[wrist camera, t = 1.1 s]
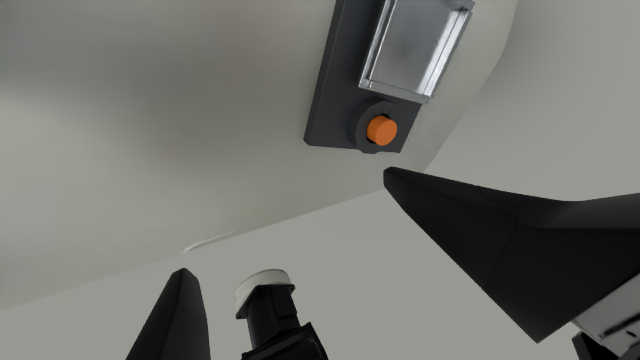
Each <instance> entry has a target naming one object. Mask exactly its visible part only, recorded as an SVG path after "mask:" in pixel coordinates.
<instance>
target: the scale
mask: <svg viewBox="0 0 640 360" xmlns="http://www.w3.org/2000/svg"><path fill="white" fill-rule="evenodd" d="M382 3H383V0H337V1H336V5H335V10H334V14H333V18H332V22H331V26H330V30H329V35H328V39H327V43H326V47H325V51H324V56H323V60H322V64H321V68H320V72H319V77H318V81H317V85H316V89H315V93H314V98H313V102H312V106H311V110H310V114H309V119H308V123H307V127H306V131H305V135H304V139H303V140H304V141H305V142H306V143H307V144H308V145H310V146H323V147H335V148H347V149H359V150H360V151H361V152H363V153H368V154H375V153H377V152H379V151H384V152H397V153H400V151H401V149H402V147H403V144H404V142H405V140H406V138H407V136H408V134H409V131H410V129H411V127H412V125H413V123H414V120H415V118H416V116H417V114H418V112H419V110H420V107H421V105H422V104H421V103H417V102H413V101H409V100H406V99H402V98H398V97H394V96H390V95H386V94H382V93H379V92H375V91H371V90H367V89H363V88H359V87H357V86H356V85H357V82H358V79H359V76H360V73H361V70H362V66H363V63H364V60H365V57H366V54H367V51H368V47H369V44H370V41H371V38H372V35H373V32H374V28H375V25H376V22H377V19H378V16H379V13H380V9H381V6H382ZM377 116H384V117H386V118H388V119H390V120H393V121H394V122H395V123H396V125H397V132H396V135H395V137H394V138H393V140H392V141H391V142H390V143H388V144H386V145H383V146H381V145H378V144H377V143H375V142H373V141H372V140H370V139H369V138H368V136H367V132H366V131H367V127H368V124H369V123H370V121H371V120H372V119H373V118H375V117H377Z"/></svg>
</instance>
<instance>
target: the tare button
mask: <svg viewBox="0 0 640 360" xmlns="http://www.w3.org/2000/svg"><path fill="white" fill-rule="evenodd" d="M366 132H367V136H368V138H369V139H370V140H372V141H373V142H375V143H377V144H378V145H381V146H383V145H386V144H388V143H390V142H391V141H392V140H393V138H394V137H395V135H396V132H397V125H396V123H395V122H394V121H393V120H390V119H388V118H386V117H384V116H377V117H375V118H373V119H372V120H371V121H370V123H369V124H368V127H367V131H366Z"/></svg>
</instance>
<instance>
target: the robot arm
mask: <svg viewBox="0 0 640 360" xmlns="http://www.w3.org/2000/svg"><path fill="white" fill-rule="evenodd" d="M383 177H384V186H385V188H386V189H387V190H388V192H389V193H390V194H391V195H392V197H393V198H394V199H395V200H396V201H397V203H398V204H399V205H400V207H401V208H402V209H403V210H404V211H405V212H406V213H407V214H408V215H409V216H410V217H411V218H412V219H413V220H414V221H415V222H416V223H417V224H418V225H419V226H420V227H421V228H422V229H423V230H424V231H425V232H426V233H427V234H428V235H429V236H430V237H431V238H432V239H433V240H434V241H435V242H436V243H437V244H438V245H439V246H440V247H441V248H442V249H443V250H444V251H445V252H446V253H447V254H448V255H449V256H450V257H451V258H452V259H453V260H454V261H455V262H456V263H457V264H458V265H459V266H460V267H461V268H462V269H463V270H464V271H465V272H466V273H467V274H468V275H469V276H470V277H471V278H472V279H473V280H474V281H475V282H476V283H477V284H478V285H479V286H480V287H481V288H482V290H483V291H484V292H485V293H486V294H487V295H488V296H489V297H490V298H491V299H492V300H493V301H494V302H495V303H496V304H497V305H498V306H499V307H500V308H502V310H503V311H504V312H505V313H506V314H507V315H508V316H509V317H510V318H511V319H513V321H514V322H515V323H517V325H518V326H519V327H520V328H521V329H522V330H523V331H524V332H525V333H526V334H527V335H528V336H529V337H531V338H532V340H534V341H535V342H536V343H539V342H541V341H542V340H544V339H545V338H547V337H548V336H549V335H551V334H552V333H554V332H555V331H557V330H558V329H560V328H561V327H562V326H564V325H565V324H567V323H568V322H572V323H573V324H574V325H576V326H577V327H578V328H579V329H581V331H579V332H578V333H577V334H576V335H575V336H574V337H573V338H572V342H573V344H574V347H575V349H576V352H577V355H578V357H579V360H640V193H635V194H628V195H621V196H613V197H607V198H599V199H592V200H586V201H560V200H553V199H547V198H541V197H534V196H529V195H523V194H517V193H511V192H505V191H500V190H495V189H491V188H486V187H481V186H477V185H476V186H475V185H472V184H468V183H463V182H459V181H455V180H450V179H445V178H441V177H436V176H432V175H428V174H424V173H419V172H415V171H410V170H406V169H401V168H397V167H389V168H387V169H385V170H384V172H383ZM294 289H295V286H294V285H293V284H281V285H256V286H255V287H254V289H253V290H252V291H251V293H250V294H249V296H248V297H247V299H246V300H245V302H244V303H243V305H242V306H241V308H240V309H239V311H238V312H237V314H236V319H245V318H247V322H248V328H249V333H250V338H251V343H252V348H253V350H251V351H249V352H247V353H246V352H245V353H242V359H241V360H328V357H327V354H326V352H325V350H324V348H323V346H322V344H321V342H320V340H319V338H318V336H317V334H316V332H315V330H314V328H313V326H312V325H311V322H308V323H307V324H306V325H304V326H302V327H301V326H300V323H299V320H298V318H297V315H296V314H297V311H296V308H295V305H294V303H293V300H292V297H291V294H292V292H293V291H294ZM208 336H209V335H208V325H207V318H206V312H205V308H204V304H203V299H202V295H201V289H200V285H199V281H198V279H197V278H196V277H195V276H194V275H193V274H192V273H191V272H190V271H189V270H188V269H186V268H182V269H180V270H177V271H176V272H174V273H173V274H172V275H171V276H170V278H169V280H168V282H167V284H166V286H165V287H164V289H163V291H162V293H161V295H160V297H159V298H158V300H157V302H156V304H155V306H154V308H153V310H152V312H151V313H150V315H149V317H148V319H147V321H146V323H145V325H144V326H143V328H142V330H141V332H140V334H139V336H138V337H137V339H136V341H135V343H134V345H133V347H132V348H131V350H130V352H129V354H128V356H127V358H126V360H211V358H210V347H209V337H208Z"/></svg>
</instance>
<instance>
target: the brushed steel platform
mask: <svg viewBox="0 0 640 360" xmlns="http://www.w3.org/2000/svg"><path fill="white" fill-rule="evenodd" d="M474 4H475V2H473V1H472V0H383V3H382V6H381V9H380V13H379V16H378V19H377V22H376V25H375V28H374V32H373V35H372V38H371V41H370V44H369V47H368V51H367V54H366V57H365V60H364V63H363V66H362V70H361V73H360V76H359V79H358V82H357V85H356V86H357V87H359V88H363V89H367V90H371V91H375V92H379V93H382V94H386V95H390V96H394V97H398V98H402V99H406V100H409V101H413V102H417V103H421V104H424V103H428V102H429V100H430V97H431V98H432V97H433V96H434V94H435V91H436V89H437V87H438V85H439V83H440V81H441V79H442V77H443V75H444V72H445V70H446V68H447V66H448V64H449V62H450V60H451V58H452V56H453V53H454V51H455V49H456V47H457V45H458V43H459V41H460V39H461V37H462V34H463V32H464V30H465V28H466V26H467V24H468V22H469V20H470V18H471V15H472V12H471V10H472V8H473V6H474Z"/></svg>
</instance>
